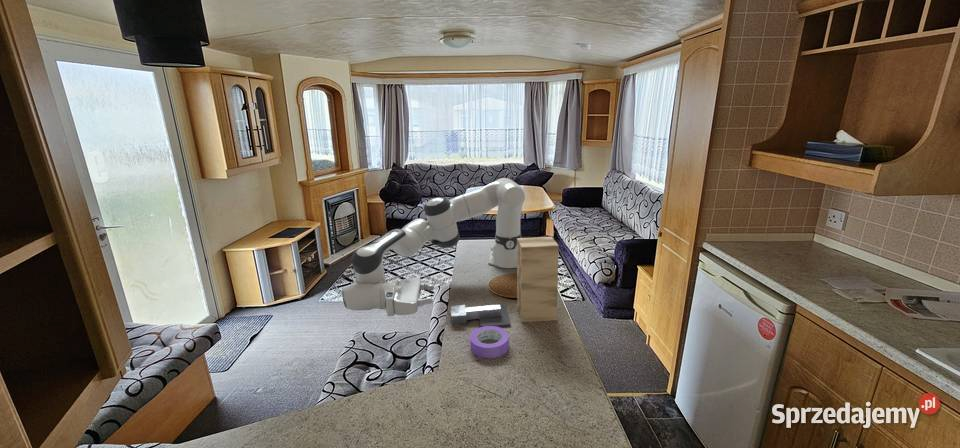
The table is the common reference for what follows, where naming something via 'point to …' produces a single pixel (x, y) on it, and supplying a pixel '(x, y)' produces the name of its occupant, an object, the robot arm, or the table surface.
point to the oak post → (537, 278)
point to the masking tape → (489, 349)
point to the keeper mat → (497, 319)
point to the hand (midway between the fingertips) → (433, 293)
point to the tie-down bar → (473, 313)
